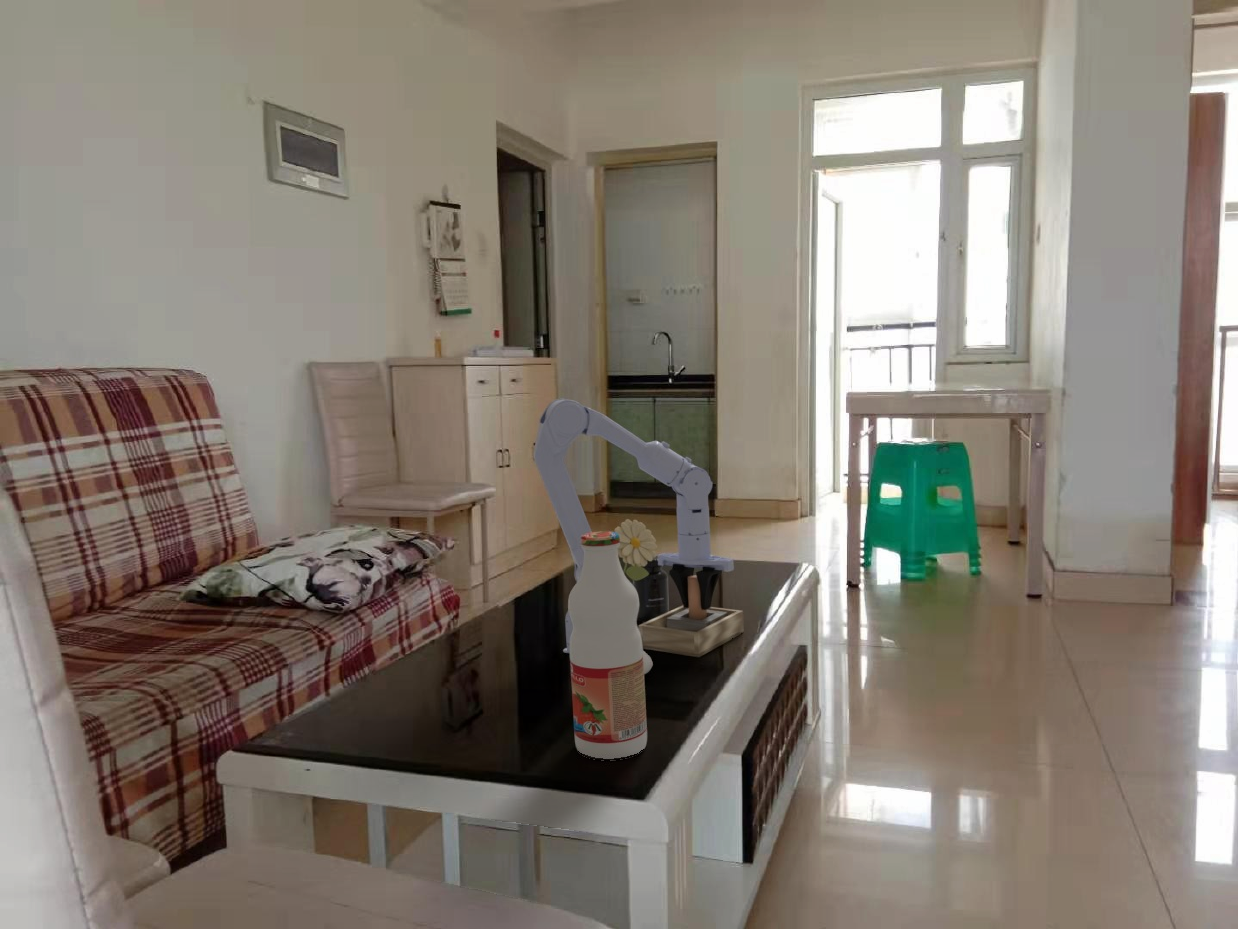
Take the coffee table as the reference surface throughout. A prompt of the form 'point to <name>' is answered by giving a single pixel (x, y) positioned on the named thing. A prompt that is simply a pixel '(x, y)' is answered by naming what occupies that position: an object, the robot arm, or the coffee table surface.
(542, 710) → the coffee table surface
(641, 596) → the supplement bottle
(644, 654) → the flower in vase
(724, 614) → the box
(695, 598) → the peg
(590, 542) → the fruit juice
